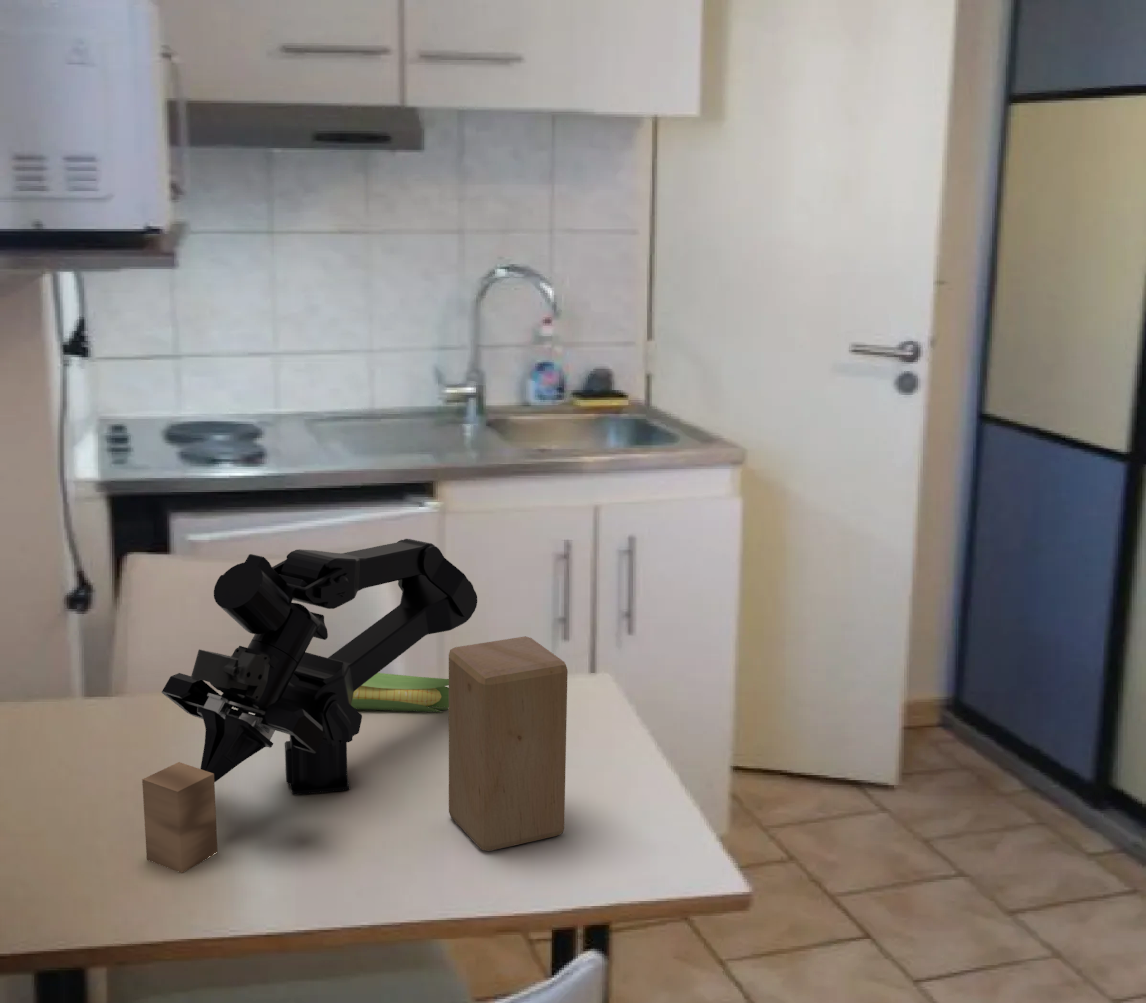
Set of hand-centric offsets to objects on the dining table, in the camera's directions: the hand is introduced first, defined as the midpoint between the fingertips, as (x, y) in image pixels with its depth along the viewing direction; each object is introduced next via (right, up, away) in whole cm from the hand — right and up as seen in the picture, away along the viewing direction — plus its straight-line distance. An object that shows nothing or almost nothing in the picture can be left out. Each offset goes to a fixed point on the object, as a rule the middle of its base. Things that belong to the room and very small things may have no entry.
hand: (203, 784), depth 154 cm
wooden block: (+31, -6, +7) cm, 32 cm away
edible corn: (+15, +2, +38) cm, 41 cm away
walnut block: (-2, -7, -1) cm, 8 cm away
